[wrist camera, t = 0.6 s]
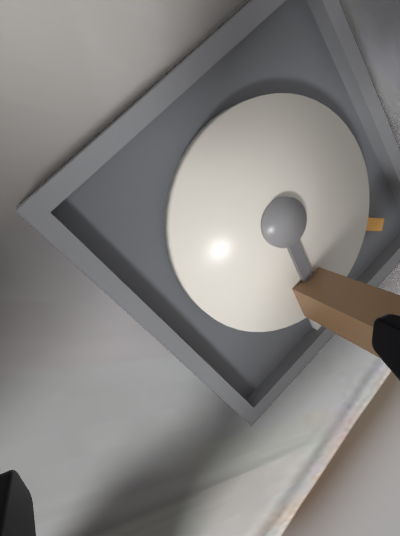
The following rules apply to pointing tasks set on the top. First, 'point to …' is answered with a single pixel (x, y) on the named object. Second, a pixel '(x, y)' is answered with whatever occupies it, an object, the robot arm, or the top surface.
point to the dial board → (164, 165)
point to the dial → (274, 220)
